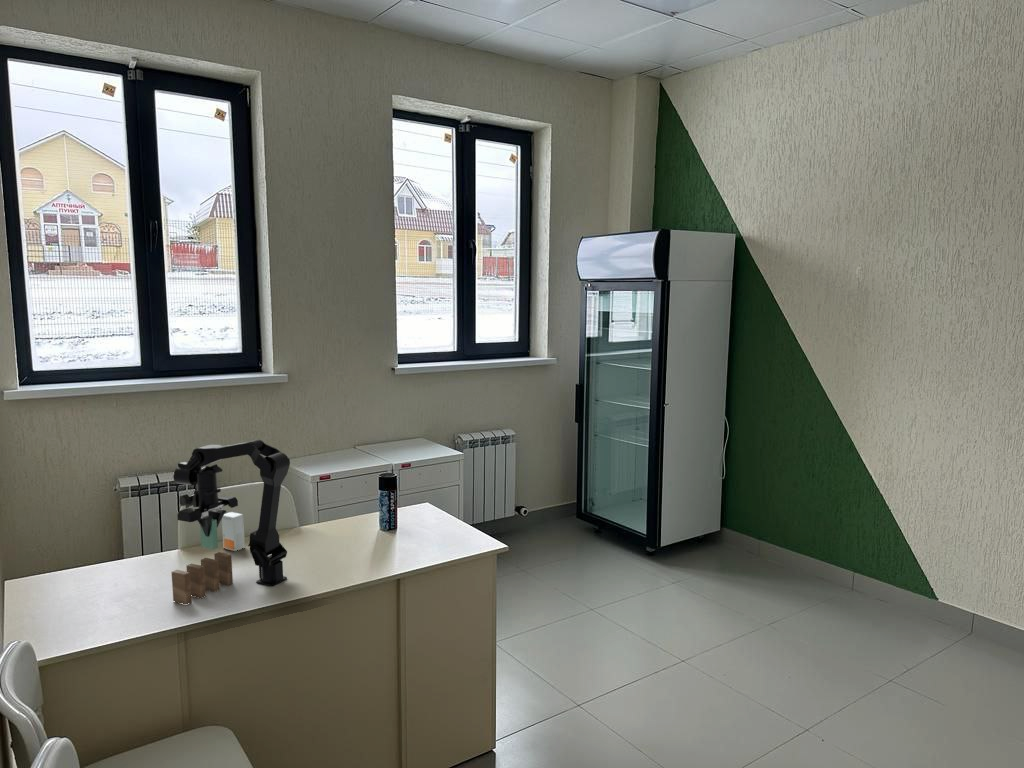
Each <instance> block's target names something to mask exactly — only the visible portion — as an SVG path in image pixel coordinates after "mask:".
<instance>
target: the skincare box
mask: <svg viewBox="0 0 1024 768" xmlns="http://www.w3.org/2000/svg"><path fill="white" fill-rule="evenodd" d="M244 525H245V524H244V514H243V513H238V512H234V511H230V512H226V513H225V514H224V515H223V517H222V519H221V526H222V527H221V528H222V529H221V530H222V546H223V549H224V548H225V550H229V551H232V552H237V550H238V551H240V550H243V549H245V545H246V544H245V527H244ZM242 548H243V549H242Z"/></svg>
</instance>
